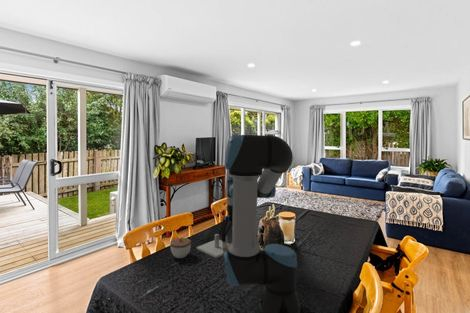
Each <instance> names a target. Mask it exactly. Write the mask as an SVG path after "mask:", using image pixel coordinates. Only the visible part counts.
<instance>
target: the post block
mask: <svg viewBox="0 0 470 313" xmlns="http://www.w3.org/2000/svg"><path fill="white" fill-rule="evenodd" d="M228 244H230V243H228V242H227V245H228ZM196 250H198V251H200V252H202V253H204V254H207V255H209V256H210V257H213V258H215V259H219V258H220V257H223V247H222V239H220V235H219V233H216V234H214V239H213V240H211V241H209V242H206V243H203V244H202V245H199V246H196Z"/></svg>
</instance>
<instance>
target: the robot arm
mask: <svg viewBox="0 0 470 313" xmlns="http://www.w3.org/2000/svg"><path fill="white" fill-rule="evenodd" d="M293 155H294V154H293V150H292V149H291V147H290V144H288V143H287V142H286V141H285V140H284V139H283V138H281V137H280V136H276V135H266V134H265V135H263V134H262V135H257V134H255V135H252V134H240V135H239V134H238V135H231V136H230V137H229V138H228V140H227V145H226V150H225V156H224V158H225V159H224V169H225V170H228V175H227V180H226V182H227V183H226V184H227V188H226V190H227V194H226V195H227V196H226V198H227V199H226V203H227V204H226V210H227V215H225V214H224V215H223V216H222V222H221V226H220V229H219V232H218V234H219V236H221V241H222V247H224V248H227V243H228V233H229V230H230V228H231V226H232V228H231V229H232V234H231V235H232V236H231V238H232V240H231V241H232V242H231V244H230V243H229V244H230V245H229V246H228V251H226V252H224V258H223V259H224V264H225V265H224V266H225V273H226V274H225V275H226V281H227V284H228V285H230V286H233V287H238V286H239V287H242V286H260V285H262V286H263V285H264V286H263V288H262V292H261V295H260V297H259V302H258V303H259V310H260V312H261V313H301V303H300V300H299V296H298V293H297V270H298V260H297V259H298V258H297V257H298V256H297V254H296V251H294V250H293V249H292V248H290V247H289V246H286V245H283V244H280V243H269V244H267V245H266V246H265V247H264V250H262V249H261V247H260V245H258V244H257V220H258V219H257V216H258V215H257V213H258V211H257V210H258V199H264V198H265V199H270V198H274V197H275V196H276V192H277V190H276V188H277V187H276V184H277V183H278V181H279V180H280V178H281V177H282V176H283V174H285V173H287V172H288V170H289V169H290V168H291V166H292V164H293V160H294V156H293Z"/></svg>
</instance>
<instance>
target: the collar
mask: <svg viewBox="0 0 470 313" xmlns="http://www.w3.org/2000/svg"><path fill="white" fill-rule="evenodd" d="M231 243H232V242H231ZM231 243H229V244H228V245H227V248H224V247H223V255H222V257H223V259H224V252H226V251H228V246H229V245H230V244H231Z"/></svg>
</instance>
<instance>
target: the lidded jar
mask: <svg viewBox="0 0 470 313" xmlns="http://www.w3.org/2000/svg"><path fill="white" fill-rule="evenodd" d="M169 245H170V252H171V254H172V255H173V256H174V258H176V259H184V258H186V257H187V256H188V255H189V253H190V251H191V247H192V246H191V245H192V241H191V239H189V238H188V237H178V238H174V239H172V240H171V241H170V244H169Z"/></svg>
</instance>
